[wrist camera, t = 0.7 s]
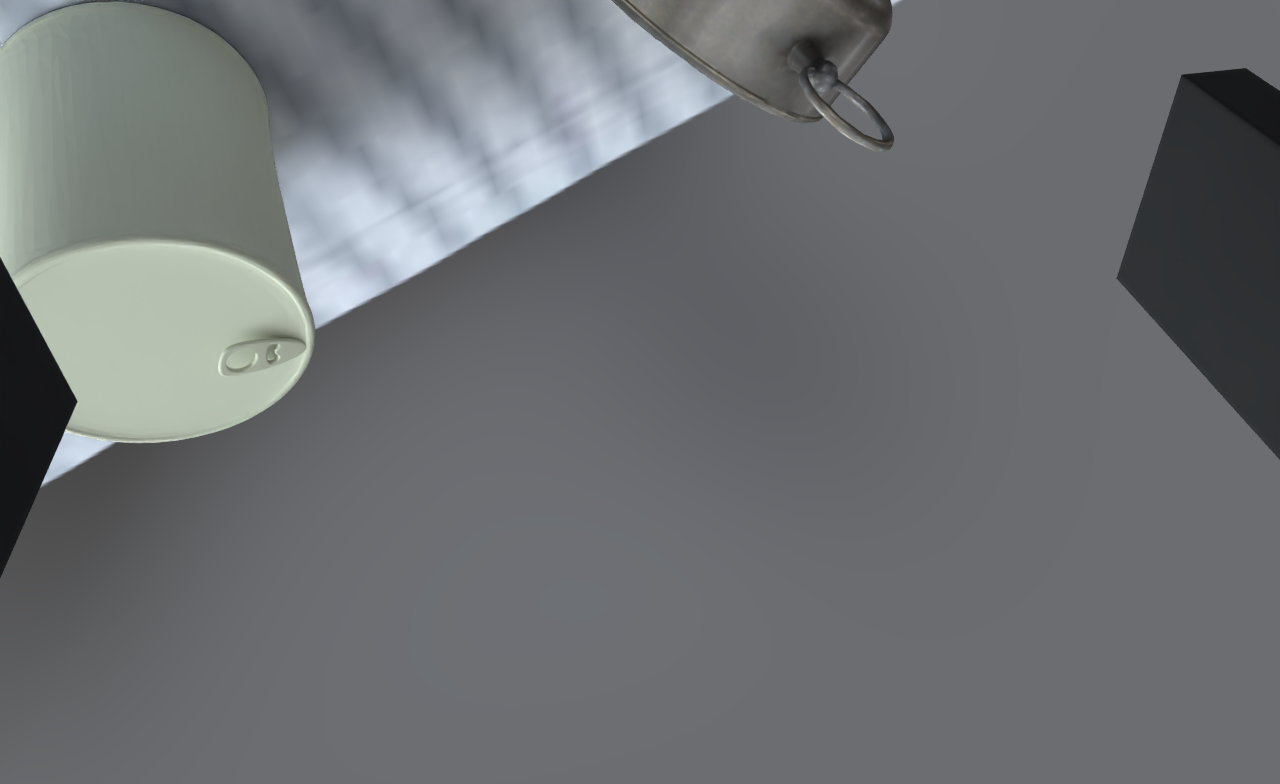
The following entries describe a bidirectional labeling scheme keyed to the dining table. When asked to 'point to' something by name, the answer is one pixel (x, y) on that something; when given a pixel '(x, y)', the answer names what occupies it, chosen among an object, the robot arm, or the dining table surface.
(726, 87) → the alarm clock
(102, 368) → the can
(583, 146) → the dining table surface
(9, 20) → the dining table surface
